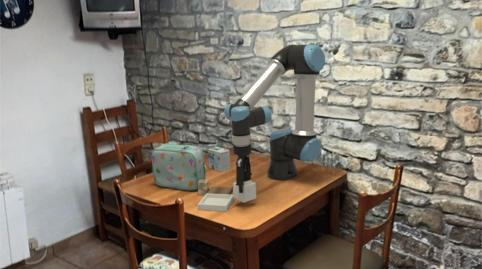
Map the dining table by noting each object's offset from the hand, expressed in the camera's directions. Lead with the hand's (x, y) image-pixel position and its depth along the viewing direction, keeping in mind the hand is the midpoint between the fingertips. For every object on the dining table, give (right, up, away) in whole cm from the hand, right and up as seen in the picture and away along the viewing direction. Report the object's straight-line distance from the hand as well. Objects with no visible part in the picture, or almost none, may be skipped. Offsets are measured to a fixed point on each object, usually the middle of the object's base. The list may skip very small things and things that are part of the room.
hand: (245, 194), depth 192 cm
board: (-11, -2, +14) cm, 18 cm away
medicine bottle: (0, -2, 0) cm, 2 cm away
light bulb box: (-13, +7, +51) cm, 53 cm away
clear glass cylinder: (-19, -2, +16) cm, 24 cm away
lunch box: (-31, 0, +26) cm, 40 cm away
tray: (-12, -5, +2) cm, 13 cm away
